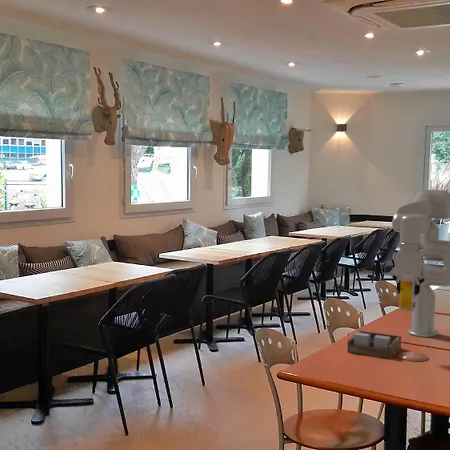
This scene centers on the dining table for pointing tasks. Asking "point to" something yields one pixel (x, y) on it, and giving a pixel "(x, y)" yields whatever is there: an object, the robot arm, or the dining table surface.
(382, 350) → the rack
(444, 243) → the robot arm
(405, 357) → the coaster
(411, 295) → the beer can
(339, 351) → the dining table surface
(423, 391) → the dining table surface
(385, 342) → the offcut
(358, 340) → the offcut
